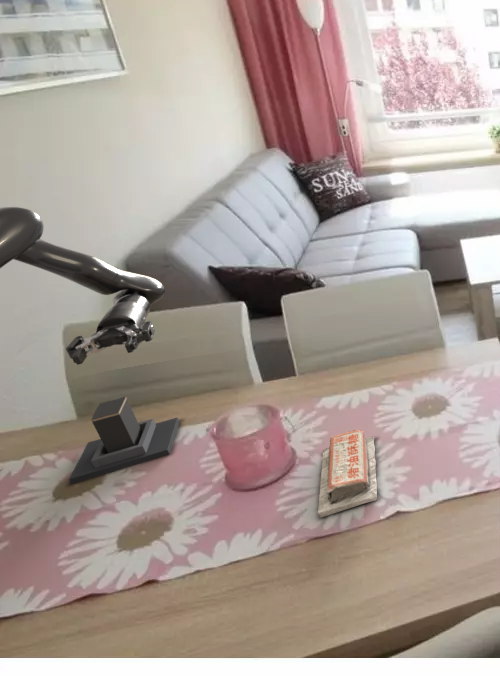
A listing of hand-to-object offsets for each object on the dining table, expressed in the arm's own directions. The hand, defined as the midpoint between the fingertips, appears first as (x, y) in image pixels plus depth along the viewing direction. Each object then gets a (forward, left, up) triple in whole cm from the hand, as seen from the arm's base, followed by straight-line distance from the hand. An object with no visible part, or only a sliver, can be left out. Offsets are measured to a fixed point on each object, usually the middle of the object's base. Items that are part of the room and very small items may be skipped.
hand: (103, 354), depth 113 cm
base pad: (-1, -8, -20) cm, 22 cm away
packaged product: (+34, -47, -20) cm, 61 cm away
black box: (-1, -8, -18) cm, 20 cm away
